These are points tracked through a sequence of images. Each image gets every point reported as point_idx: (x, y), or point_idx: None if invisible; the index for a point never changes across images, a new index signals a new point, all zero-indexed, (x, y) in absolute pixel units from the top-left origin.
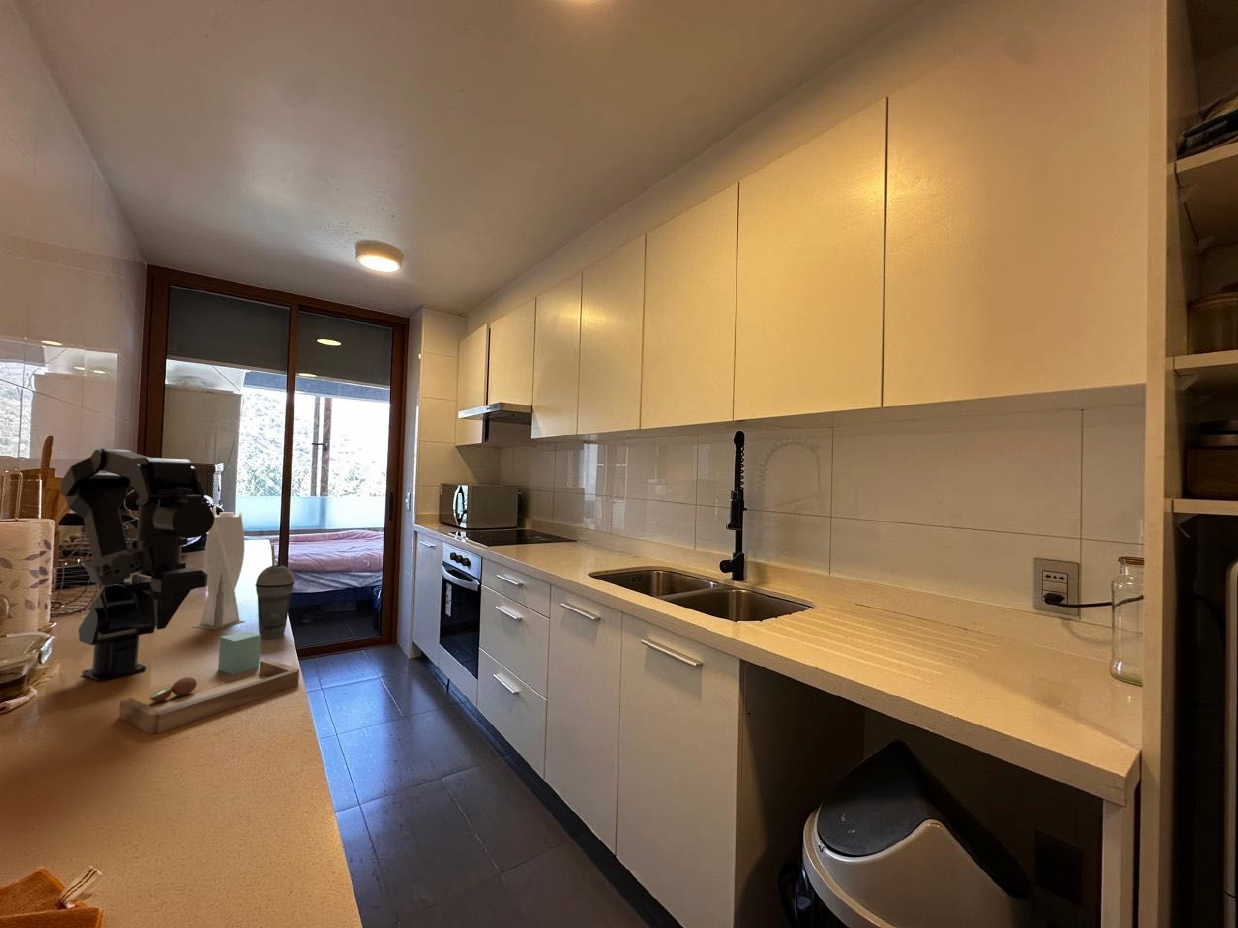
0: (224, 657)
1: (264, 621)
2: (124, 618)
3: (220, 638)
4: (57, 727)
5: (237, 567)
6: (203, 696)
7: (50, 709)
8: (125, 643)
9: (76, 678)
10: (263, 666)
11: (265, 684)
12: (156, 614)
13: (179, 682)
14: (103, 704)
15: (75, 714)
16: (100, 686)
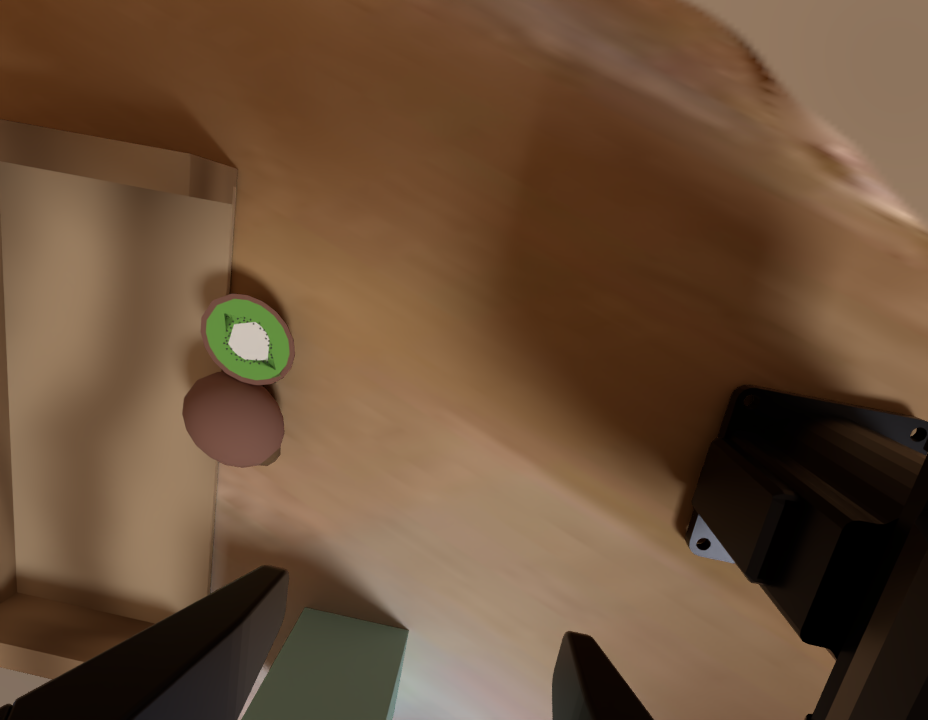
0: (348, 673)
1: None
2: (916, 689)
3: None
4: (353, 12)
5: None
6: (160, 414)
7: (592, 112)
8: (804, 563)
9: (894, 380)
10: None
11: None
12: (98, 664)
13: (206, 400)
14: (442, 232)
15: (432, 122)
16: (674, 355)
